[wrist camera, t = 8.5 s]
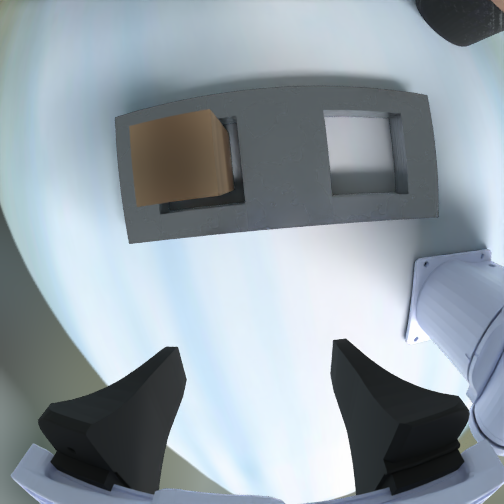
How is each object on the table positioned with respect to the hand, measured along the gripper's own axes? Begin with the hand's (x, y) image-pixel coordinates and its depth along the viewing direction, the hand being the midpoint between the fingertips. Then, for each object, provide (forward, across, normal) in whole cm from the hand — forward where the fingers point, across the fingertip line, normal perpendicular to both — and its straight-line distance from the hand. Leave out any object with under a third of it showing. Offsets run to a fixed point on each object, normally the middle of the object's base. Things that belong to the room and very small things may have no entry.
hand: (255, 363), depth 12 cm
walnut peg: (+9, +3, -9) cm, 13 cm away
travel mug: (+9, -20, -25) cm, 33 cm away
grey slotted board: (+9, -2, -9) cm, 13 cm away
